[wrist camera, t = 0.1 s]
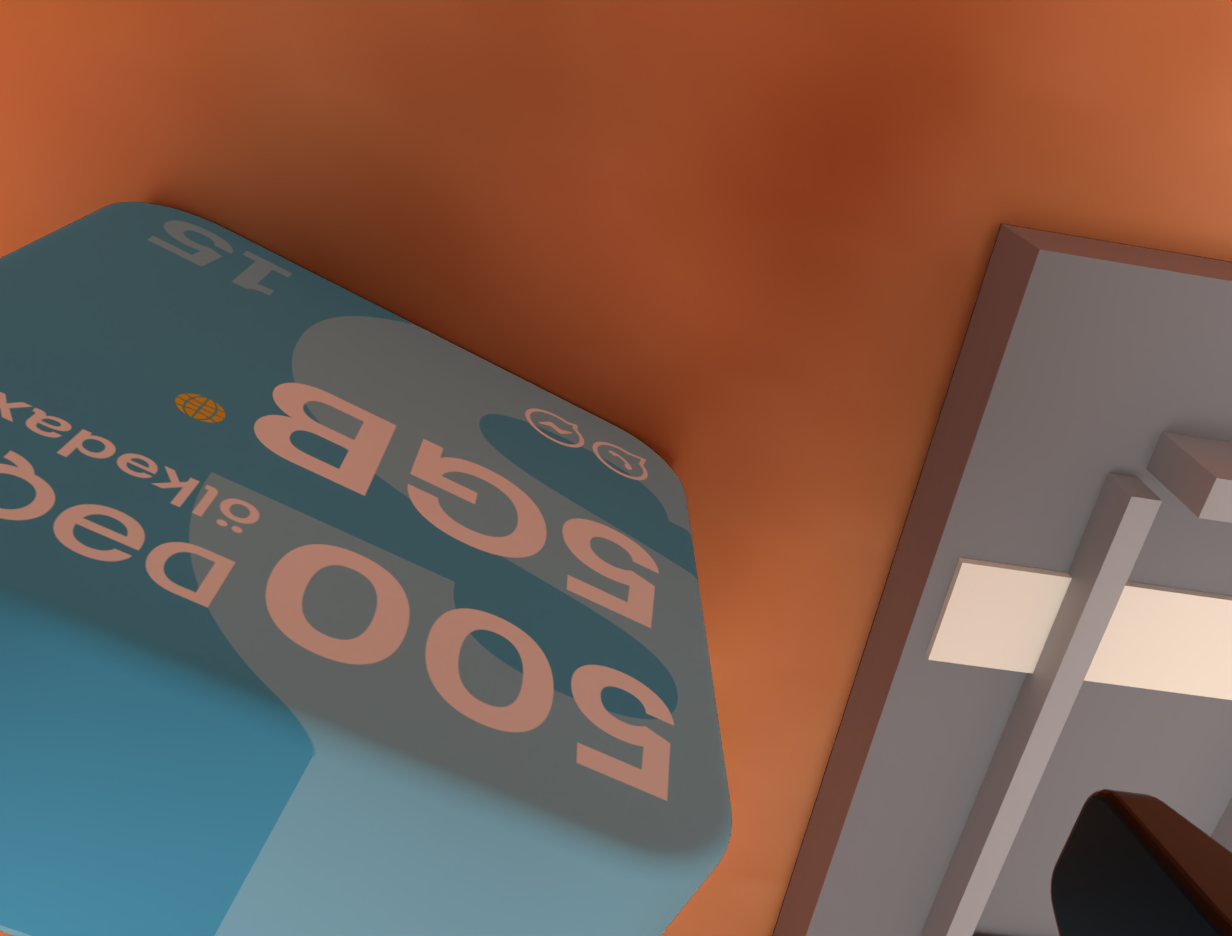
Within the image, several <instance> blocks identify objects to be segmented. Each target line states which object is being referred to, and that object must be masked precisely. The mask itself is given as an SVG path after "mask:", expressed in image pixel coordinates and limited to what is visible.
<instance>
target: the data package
mask: <svg viewBox="0 0 1232 936" xmlns="http://www.w3.org/2000/svg"><path fill="white" fill-rule="evenodd" d="M731 826H732V814H731V804H730V797H729V790H728V783H727V776H726V769H725V763H724V756H723V749H722V742H721V735H720V728H719V721H718V714H717V708H716V701H715V694H714V687H713V680H712V673H711V666H710V660H709V653H708V646H707V639H706V632H705V625H704V618H703V612H702V605H701V598H700V591H699V584H698V577H697V570H696V563H695V557H694V550H693V543H692V536H691V529H690V522H689V515H688V509H687V502H686V495H685V491H684V488H683V486H682V484H681V482H680V480H679V478H678V477H677V475H676V474H675V472H674V471H673V470H672V469H671V468H670V466H669V465H668V464H667V463H666V462H665V461H664V460H663V459H662V458H661V457H660V456H659V455H658V454H657V453H655V452H654V451H653V450H652V449H651V448H649V447H648V446H647V445H645V444H644V443H643V442H641V441H640V440H638V439H637V438H635V437H634V436H632V435H631V434H629V433H627V432H626V431H624V430H622V429H620V428H618V427H616V426H614V425H612V424H611V423H609V422H607V421H605V420H603V419H601V418H599V417H597V416H595V415H593V414H591V413H589V412H587V411H585V410H583V409H581V408H579V407H577V406H575V405H573V404H571V403H569V402H567V401H565V400H563V399H561V398H559V397H557V396H555V395H553V394H551V393H549V392H547V391H545V390H543V389H541V388H539V387H537V386H535V385H533V384H532V383H530V382H528V381H526V380H524V379H522V378H520V377H518V376H516V375H514V374H512V373H510V372H508V371H506V370H504V369H502V368H500V367H498V366H496V365H494V364H492V363H490V362H488V361H486V360H484V359H482V358H480V357H478V356H476V355H474V354H472V353H470V352H468V351H466V350H464V349H462V348H460V347H458V346H456V345H454V344H453V343H451V342H449V341H447V340H445V339H443V338H441V337H439V336H437V335H435V334H433V333H431V332H429V331H427V330H425V329H423V328H421V327H419V326H417V325H415V324H413V323H411V322H409V321H407V320H405V319H403V318H401V317H399V316H397V315H395V314H393V313H391V312H389V311H387V310H385V309H383V308H381V307H379V306H377V305H376V304H374V303H372V302H370V301H368V300H366V299H364V298H362V297H360V296H358V295H356V294H354V293H352V292H350V291H348V290H346V289H344V288H342V287H340V286H338V285H336V284H334V283H332V282H330V281H328V280H326V279H324V278H322V277H320V276H318V275H316V274H314V273H312V272H310V271H308V270H306V269H304V268H302V267H300V266H298V265H297V264H295V263H293V262H291V261H289V260H287V259H285V258H283V257H281V256H279V255H277V254H275V253H273V252H271V251H269V250H267V249H265V248H263V247H261V246H259V245H257V244H255V243H253V242H251V241H249V240H247V239H245V238H243V237H241V236H239V235H237V234H235V233H233V232H231V231H229V230H227V229H225V228H223V227H221V226H219V225H217V224H215V223H213V222H211V221H208V220H206V219H204V218H201V217H198V216H196V215H193V214H190V213H187V212H184V211H181V210H178V209H174V208H170V207H166V206H162V205H157V204H151V203H142V202H121V203H115V204H111V205H109V206H106V207H104V208H101V209H99V210H97V211H95V212H93V213H91V214H89V215H87V216H85V217H83V218H81V219H79V220H77V221H75V222H73V223H71V224H69V225H67V226H65V227H63V228H61V229H59V230H57V231H55V232H53V233H51V234H49V235H47V236H45V237H42V238H40V239H38V240H36V241H34V242H32V243H30V244H28V245H26V246H24V247H22V248H20V249H18V250H16V251H14V252H12V253H10V254H8V255H6V256H4V257H2V258H0V931H2V932H5V933H8V934H11V935H14V936H661V934H662V933H663V932H664V931H665V929H666V928H667V927H668V926H669V925H670V923H671V922H672V921H673V920H674V918H675V917H676V916H677V915H678V913H679V912H680V911H681V910H682V908H683V907H684V906H685V905H686V903H687V902H688V901H689V900H690V898H691V897H692V896H693V895H694V893H695V892H696V891H697V890H698V888H699V887H700V886H701V885H702V884H703V882H704V881H705V880H706V879H707V877H708V876H709V875H710V874H711V872H712V871H713V870H714V869H715V867H716V866H717V865H718V864H719V862H720V861H721V859H722V857H723V855H724V853H725V851H726V849H727V846H728V843H729V839H730V836H731Z"/></svg>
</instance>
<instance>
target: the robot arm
mask: <svg viewBox="0 0 1232 936" xmlns="http://www.w3.org/2000/svg"><path fill="white" fill-rule="evenodd" d="M1051 902H1052V908H1053V912H1054V916H1055V920H1056V924H1057V928H1058V933H1059V936H1232V853H1231V852H1230V851H1229V850H1227V849H1226V848H1225V847H1223V846H1222V845H1221V844H1219V843H1218V842H1217V841H1215V840H1214V839H1213V838H1211V837H1210V836H1209V835H1207V834H1206V833H1205V832H1203V831H1202V830H1201V829H1199V828H1198V827H1196V826H1195V825H1194V824H1192V823H1191V822H1190V821H1188V820H1187V819H1186V818H1184V817H1183V816H1182V815H1180V814H1179V813H1178V812H1176V811H1175V810H1174V809H1172V808H1171V807H1170V806H1168V805H1167V804H1166V803H1164V802H1163V801H1161V800H1160V799H1158V798H1156V797H1154V796H1151V795H1148V794H1142V793H1134V792H1127V791H1119V790H1111V789H1102V790H1098V791H1096V792H1094V793H1093V794H1091V795H1090V796H1089V797H1088V798H1087V800H1086V801H1085V803H1084V805H1083V807H1082V809H1081V811H1080V813H1079V815H1078V818H1077V820H1076V822H1075V824H1074V826H1073V828H1072V830H1071V832H1070V835H1069V837H1068V839H1067V841H1066V843H1065V845H1064V847H1063V849H1062V851H1061V854H1060V856H1059V858H1058V860H1057V862H1056V864H1055V867H1054V870H1053V873H1052V878H1051Z"/></svg>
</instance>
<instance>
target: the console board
mask: <svg viewBox="0 0 1232 936" xmlns="http://www.w3.org/2000/svg"><path fill="white" fill-rule="evenodd" d="M1102 789H1111V790H1119V791H1127V792H1134V793H1142V794H1148V795H1151V796H1154V797H1156V798H1158V799H1160V800H1161V801H1163V802H1164V803H1166V804H1167V805H1168V806H1170V807H1171V808H1172V809H1174V810H1175V811H1176V812H1178V813H1179V814H1180V815H1182V816H1183V817H1184V818H1186V819H1187V820H1188V821H1190V822H1191V823H1192V824H1194V825H1195V826H1196V827H1198V828H1199V829H1201V830H1202V831H1203V832H1205V833H1206V834H1207V835H1209V836H1210V837H1211V838H1213V839H1214V840H1215V841H1217V842H1218V843H1219V844H1221V845H1222V846H1223V847H1225V848H1226V849H1227V850H1229V851H1230V852H1231V853H1232V262H1227V261H1221V260H1215V259H1209V258H1203V257H1197V256H1191V255H1185V254H1179V253H1173V252H1167V251H1161V250H1155V249H1149V248H1143V247H1137V246H1131V245H1125V244H1119V243H1113V242H1107V241H1101V240H1095V239H1089V238H1083V237H1077V236H1071V235H1065V234H1059V233H1053V232H1047V231H1041V230H1035V229H1029V228H1024V227H1018V226H1012V225H1006V224H1001V227H1000V230H999V233H998V237H997V240H996V243H995V246H994V249H993V252H992V255H991V258H990V261H989V265H988V268H987V271H986V274H985V277H984V280H983V283H982V286H981V289H980V293H979V296H978V299H977V302H976V305H975V308H974V311H973V314H972V317H971V321H970V324H969V327H968V330H967V333H966V336H965V339H964V342H963V345H962V349H961V352H960V355H959V358H958V361H957V364H956V367H955V370H954V373H953V377H952V380H951V383H950V386H949V389H948V392H947V395H946V398H945V401H944V405H943V408H942V411H941V414H940V417H939V420H938V423H937V426H936V429H935V433H934V436H933V439H932V442H931V445H930V448H929V451H928V454H927V457H926V461H925V464H924V467H923V470H922V473H921V476H920V479H919V482H918V485H917V488H916V492H915V495H914V498H913V501H912V504H911V507H910V510H909V513H908V516H907V520H906V523H905V526H904V529H903V532H902V535H901V538H900V541H899V544H898V548H897V551H896V554H895V557H894V560H893V563H892V566H891V569H890V572H889V576H888V579H887V582H886V585H885V588H884V591H883V594H882V597H881V600H880V604H879V607H878V610H877V613H876V616H875V619H874V622H873V625H872V628H871V632H870V635H869V638H868V641H867V644H866V647H865V650H864V653H863V656H862V660H861V663H860V666H859V669H858V672H857V675H856V678H855V681H854V684H853V688H852V691H851V694H850V697H849V700H848V703H847V706H846V709H845V712H844V716H843V719H842V722H841V725H840V728H839V731H838V734H837V737H836V740H835V744H834V747H833V750H832V753H831V756H830V759H829V762H828V765H827V768H826V772H825V775H824V778H823V781H822V784H821V787H820V790H819V793H818V796H817V800H816V803H815V806H814V809H813V812H812V815H811V818H810V821H809V824H808V828H807V831H806V834H805V837H804V840H803V843H802V846H801V849H800V852H799V856H798V859H797V862H796V865H795V868H794V871H793V874H792V877H791V880H790V884H789V887H788V890H787V893H786V896H785V899H784V902H783V905H782V908H781V912H780V915H779V918H778V921H777V924H776V927H775V930H774V933H773V936H1059V933H1058V928H1057V924H1056V920H1055V916H1054V912H1053V908H1052V902H1051V878H1052V873H1053V870H1054V867H1055V864H1056V862H1057V860H1058V858H1059V856H1060V854H1061V851H1062V849H1063V847H1064V845H1065V843H1066V841H1067V839H1068V837H1069V835H1070V832H1071V830H1072V828H1073V826H1074V824H1075V822H1076V820H1077V818H1078V815H1079V813H1080V811H1081V809H1082V807H1083V805H1084V803H1085V801H1086V800H1087V798H1088V797H1089V796H1090V795H1091V794H1093V793H1094V792H1096V791H1098V790H1102Z"/></svg>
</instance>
